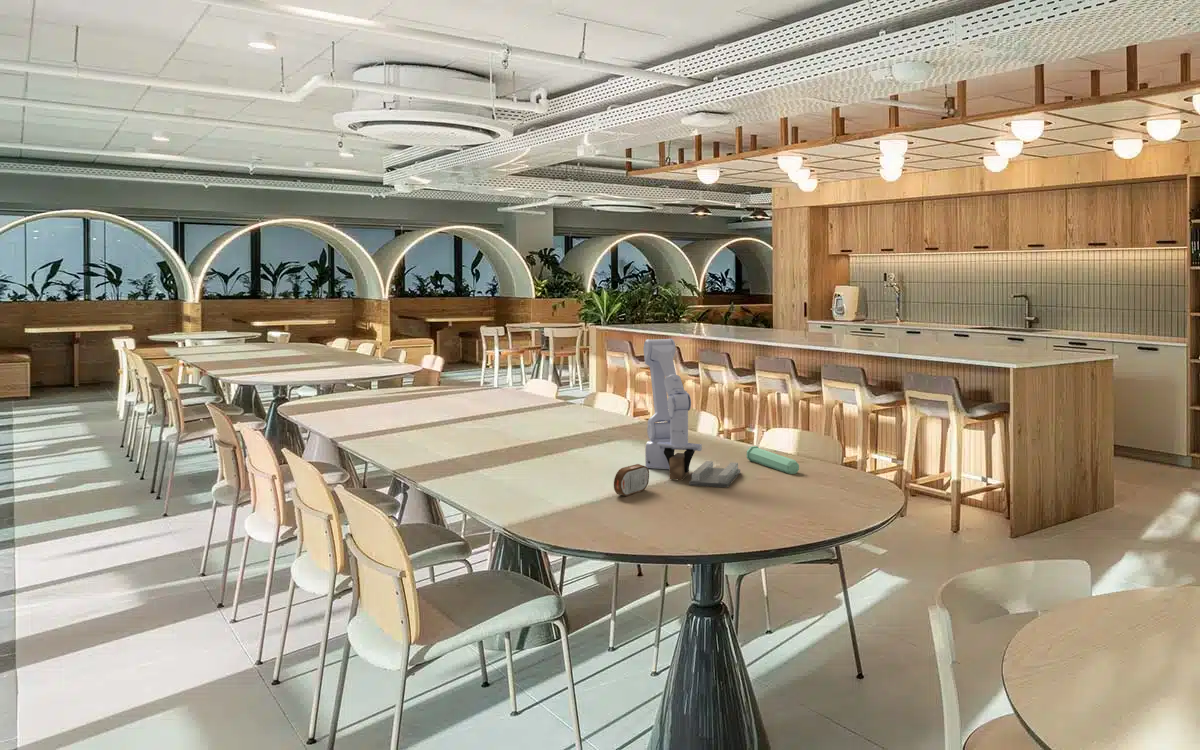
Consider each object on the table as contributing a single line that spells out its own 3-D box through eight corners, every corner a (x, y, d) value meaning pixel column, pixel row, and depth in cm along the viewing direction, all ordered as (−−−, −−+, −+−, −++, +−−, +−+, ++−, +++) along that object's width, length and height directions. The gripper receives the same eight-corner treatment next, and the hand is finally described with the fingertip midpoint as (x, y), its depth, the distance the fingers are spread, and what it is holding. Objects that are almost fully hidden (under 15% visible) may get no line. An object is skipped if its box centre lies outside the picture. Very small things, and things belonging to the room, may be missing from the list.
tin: (643, 488, 277) (642, 461, 276) (651, 489, 275) (651, 462, 274) (612, 497, 266) (612, 469, 265) (621, 499, 264) (620, 471, 263)
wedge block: (669, 479, 288) (669, 458, 288) (677, 473, 298) (677, 452, 297) (681, 480, 287) (681, 459, 286) (688, 474, 296) (689, 453, 296)
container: (799, 456, 293) (757, 442, 316) (785, 464, 292) (743, 450, 314) (804, 472, 295) (762, 457, 318) (790, 480, 293) (749, 464, 316)
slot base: (689, 485, 280) (689, 473, 280) (704, 470, 301) (704, 460, 300) (727, 487, 276) (727, 476, 276) (740, 472, 297) (740, 462, 296)
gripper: (654, 431, 289) (654, 472, 291) (698, 433, 284) (698, 475, 286) (660, 427, 296) (660, 468, 297) (703, 429, 291) (703, 470, 293)
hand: (679, 471), depth 292 cm, fingers open, 4 cm apart
